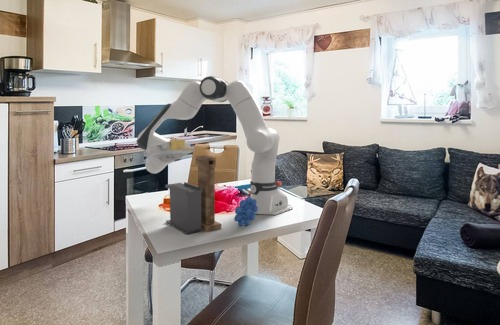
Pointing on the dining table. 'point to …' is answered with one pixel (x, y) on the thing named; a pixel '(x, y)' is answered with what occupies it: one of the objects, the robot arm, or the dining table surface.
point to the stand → (207, 192)
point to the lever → (244, 188)
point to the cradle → (185, 207)
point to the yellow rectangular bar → (180, 145)
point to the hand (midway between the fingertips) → (175, 142)
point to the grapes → (246, 211)
